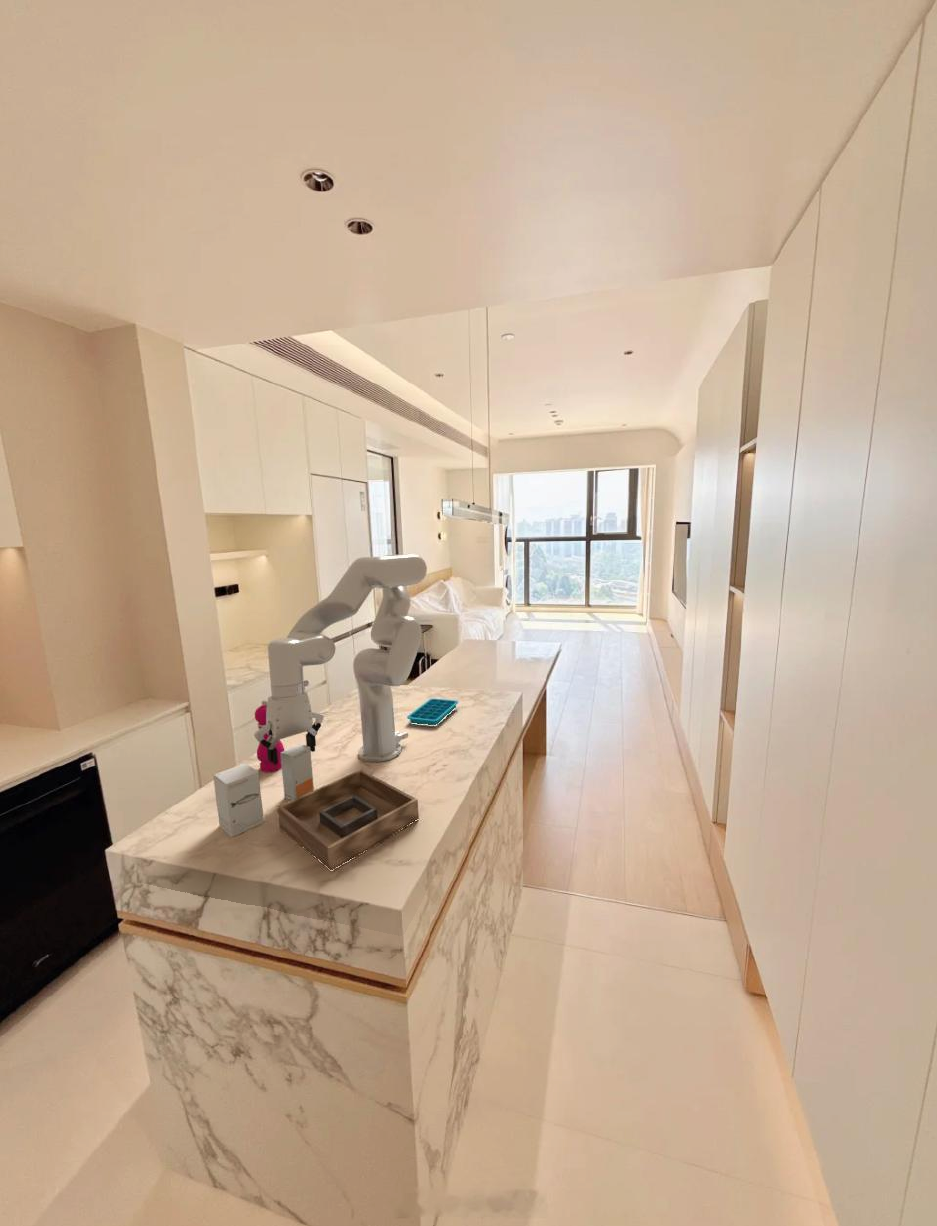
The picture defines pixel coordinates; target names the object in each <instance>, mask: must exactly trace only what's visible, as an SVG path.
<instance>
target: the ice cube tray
mask: <svg viewBox="0 0 937 1226" xmlns="http://www.w3.org/2000/svg"><path fill="white" fill-rule="evenodd" d="M458 704H459V701H458V700H455V699H446V698H445V699H443V698H430V699H428V700H427V701H426V702H424V703H423V704H422V705H420V706H419V707H418V708H416V709H415V710H414V711H412V712H411V713H410V714H409V715H407V716H406V718H407V719H409V723H410V722H411V723H417V724H428V725H436V724H438V723H439V722H440V721H441V720H442V719H443V718H444V717H445V716H446V715H447V714H449V713H450V712H451V711H452V710H453V709H454V708H456V709H457V705H458ZM411 723H410V724H411Z"/></svg>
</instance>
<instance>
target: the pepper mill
mask: <svg viewBox="0 0 937 1226" xmlns="http://www.w3.org/2000/svg"><path fill="white" fill-rule="evenodd" d="M267 702H268V699H263V700H261V705H260V706H258V707H257V709H255V712H254V719H255V721H256V722H257V729H258V730H260V729H261V728H262V727H263V726H264V725H266V711H267ZM263 737H264V739H265V740H266V741H267V739H268V738H269V735H268V734H267V733H265V734H264V736H263ZM275 748H276V749H277V756H278V764H277V765H274V764H273V763H271V762H270V761H269V760H268V755H267V747H265V746H263V745H262V744H260V743H259V742H258V746H257V750H256V757H257V760H259V765H260V766H259V767H260V768H259V769H260V771H261V772H262V773H263V772H264V773H274V772H276V771H278V770H282V765H281V755H280V753H281V752H283V751H285V746H284V744H283V742H282V741H281V739H279V741H278V742H277V744H276V746H275Z"/></svg>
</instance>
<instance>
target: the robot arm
mask: <svg viewBox="0 0 937 1226" xmlns="http://www.w3.org/2000/svg"><path fill="white" fill-rule="evenodd" d="M427 569H428V567H427V564H426V561H425V560H424V559H423V557H421V556H419V555H417V554H387V555H383V556H361V557H358V558H356V559H355V560H354V561H353V562H352V563H351V565H350V566H349V567H348V569H347V570H346V572H345V573H344V574H343V576H342V577H341V578H340V580H339V581H338V582H337V584H336V585H335V587H334V588H333V590H332V591H331V592H330V593H329V595H328V596H327V597H325V598H324V599H322V600H321V601H319V602H318V603H317V604H315V605H314V606H313V607H311V608H310V609H309V610H307V611H306V612H305V613H304V614H303V615H302V616H301V617H300V618H299V619H298V620H297V622H296V623H295V624H294V626H292V629H290V631H289V633H288V635H287V637H285V638H278V639H273V640H271V641H270V642H269V643H268V646H267V655H268V667H269V679H270V680H269V681H270V682H269V683H270V689H271V690H270V692H271V696H268V698H267V700H268V702H267V711H266V725H264V726H263V727H262V728H261V729H258V730H257V731H256V732H255V733H254V734H253V736H254V738H255V739H256V740H257V742H258V744H259V743H260V744H262V745H263V746H265V747H267V755H268V760H269V761H270V762H271V763H273V764H274V765H277V764H278V756H277V749H276V748H275V746H276V744H277V742H278V741H279V739H280V740H284V739H286V738H289V737H293V736H296V735H299V734H302V733H305V743H306V744H305V746H309V747H310V750H311V752H312V753H314V752H316V746H317V742H316V741H317V739H316V736H317V735H318V731H319V730H320V728H321V727H322V723H323V720H324V715H323V714H321V713H316V712H313V711H312V708H311V706H312V705H311V702H310V697H309V696H308V692H307V691H306V687H308V686H310V683H309V680H305V679H304V667H307V666H320V665H324V664H326V663H328V662H329V661H331V660H332V659H333V658H334V656H335V653H336V645H335V642H334V641H333V639H331V638H330V637H328V636H327V635H325V634H324V635H323V634H321V633H322V632H323V631H324V630H326V629H327V628H329V627H330V626H331V625H334V624H336V623H339V622H341V621H345V620H346V619H349V618H351V617H354V615H356V614H357V613H358V611H359V609H360V608H361V607H362V605H363V604H364V602H365V600H366V599H367V598H368V596H369V595H370V594H371V592H372V591H373V590H374V589H375V588H377V589H382V599H381V601H380V605H379V608H378V610H377V613H376V616H375V618H374V621H373V623H372V626H371V630H370V638H371V640H372V642H373V643H375V644H376V645H379V646H381V647H384V648H385V647H387V648H390V649H389V650H386V649H380V648H372V647H371V648H365V649H362V650H360V651H358V653H357V654H356V655H355V657H354V659H353V663H352V665H353V666H352V669H353V675H354V678H355V681H356V684H357V690H358V698H359V699H358V700H359V709H360V710H359V711H360V723H361V724H360V725H361V734H362V746H361V747H360V748H359V749H358V755H357V756H358V758H359V759H361V760H363V761H364V762H369V763H381V762H386V761H389V760H392V759H394V758H396V757H398V756H399V755H400V754H401V752H402V745H401V744H400V742H401V741H402V740H404V739H407V738H409V732H408V731H404V732H401V733H400V732H399V731H396V728H395V727H396V726H395V714H394V713H395V712H394V698H393V690H392V688H391V687H399V686H401V685H404V683H405V682H406V681H407V679H408V677H409V676H410V673H411V672H412V668H413V665H414V662H415V660H416V657H417V655H418V651H419V649H420V646H421V642H422V637H423V635H422V634H423V633H422V626H421V623H420V622H419V620H417V619H416V618H414V617H412V616H409V615H408V613H409V610H410V607H411V595H410V592H409V590H408V588H407V586H414V585H417V584H419V583H421V582H423V580H424V579H425V578H426V575H427ZM313 719H315V721H313ZM306 732H307V733H306ZM265 733H267V734H268V735H269V738H268V739H267V741H266V740H265V739H264V737H263V736H264V734H265ZM399 753H400V754H399ZM397 755H398V756H397Z"/></svg>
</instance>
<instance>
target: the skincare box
mask: <svg viewBox="0 0 937 1226" xmlns="http://www.w3.org/2000/svg"><path fill="white" fill-rule="evenodd" d="M311 752H312V751H311V750H310V747H309V746H306V744H301V743H299V744H296V745H294V746H291V747H289V748H288V749H286V750H285V749H284V751H283V752H281V753H280V755H281V765H282V768H281V774H282V784H283V793H284V795H283V796H284V798H286V799H288V800H290V801H292V800H294V799H296V798H299V797H301V796H303V795H305V794H307V793H310V792H312V791H314V790H315V787H314V776H313V764H312V753H311Z"/></svg>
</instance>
